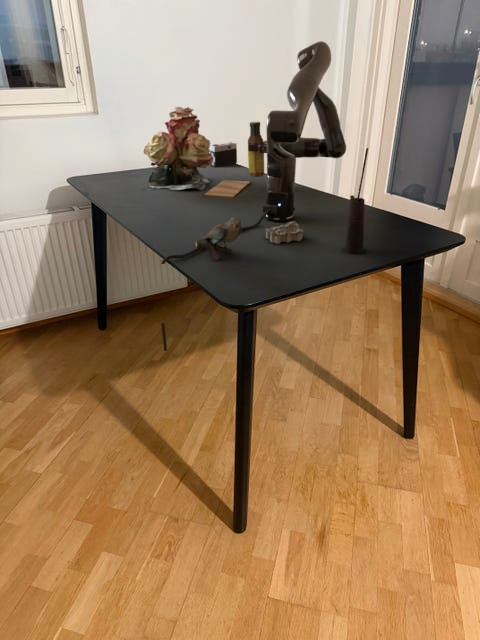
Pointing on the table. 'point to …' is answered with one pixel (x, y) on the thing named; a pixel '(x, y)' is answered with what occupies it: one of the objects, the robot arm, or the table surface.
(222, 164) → the camera
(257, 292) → the table surface
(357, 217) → the butter churn
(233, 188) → the flat copper plate
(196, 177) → the rose bouquet
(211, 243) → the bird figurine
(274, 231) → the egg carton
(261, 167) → the sauce bottle
